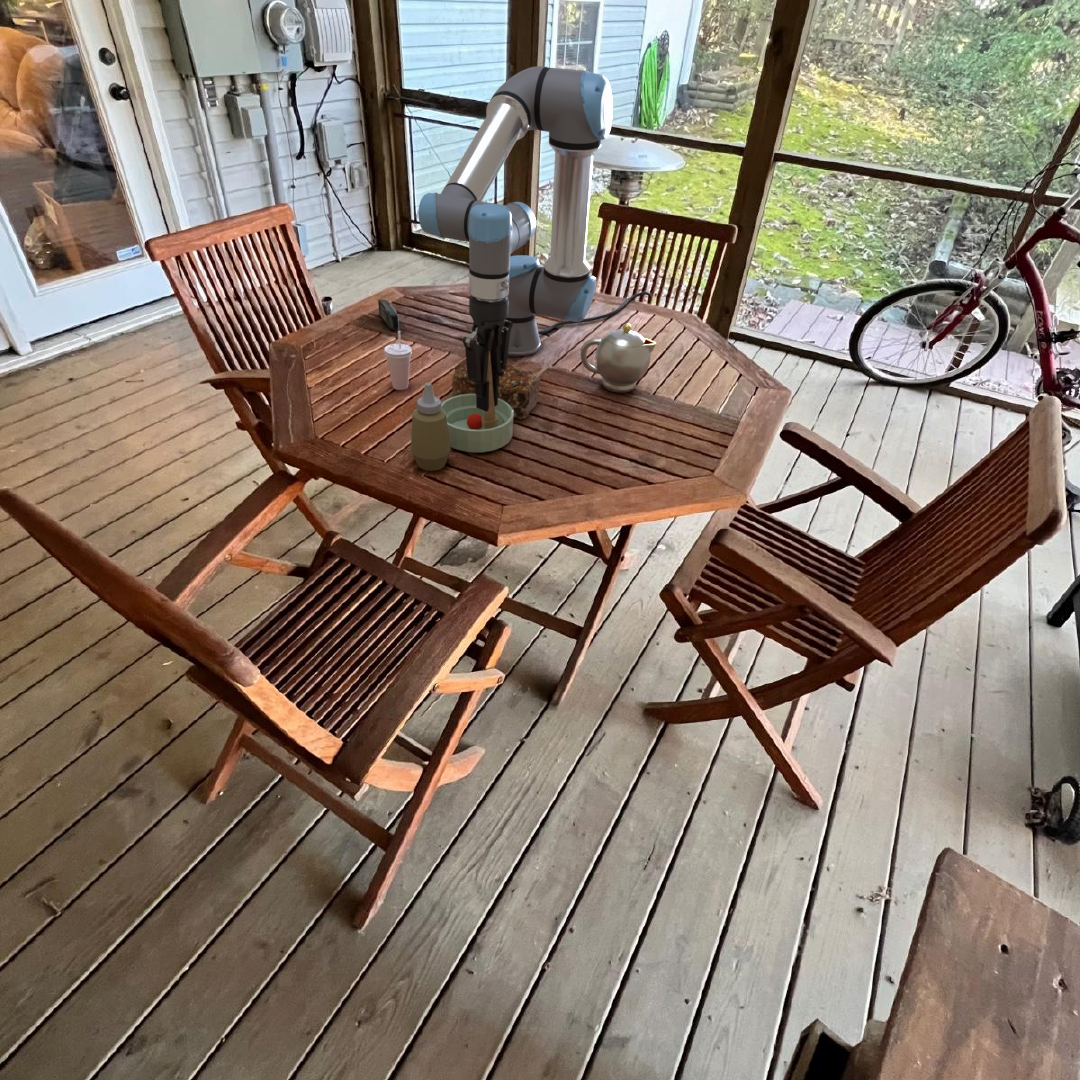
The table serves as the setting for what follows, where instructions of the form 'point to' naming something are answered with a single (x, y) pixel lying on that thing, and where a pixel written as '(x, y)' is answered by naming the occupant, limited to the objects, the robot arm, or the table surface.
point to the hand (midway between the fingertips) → (486, 406)
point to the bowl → (482, 438)
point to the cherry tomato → (474, 422)
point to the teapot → (620, 358)
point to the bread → (504, 387)
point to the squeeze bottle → (430, 432)
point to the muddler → (490, 403)
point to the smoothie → (398, 363)
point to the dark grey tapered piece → (389, 314)
